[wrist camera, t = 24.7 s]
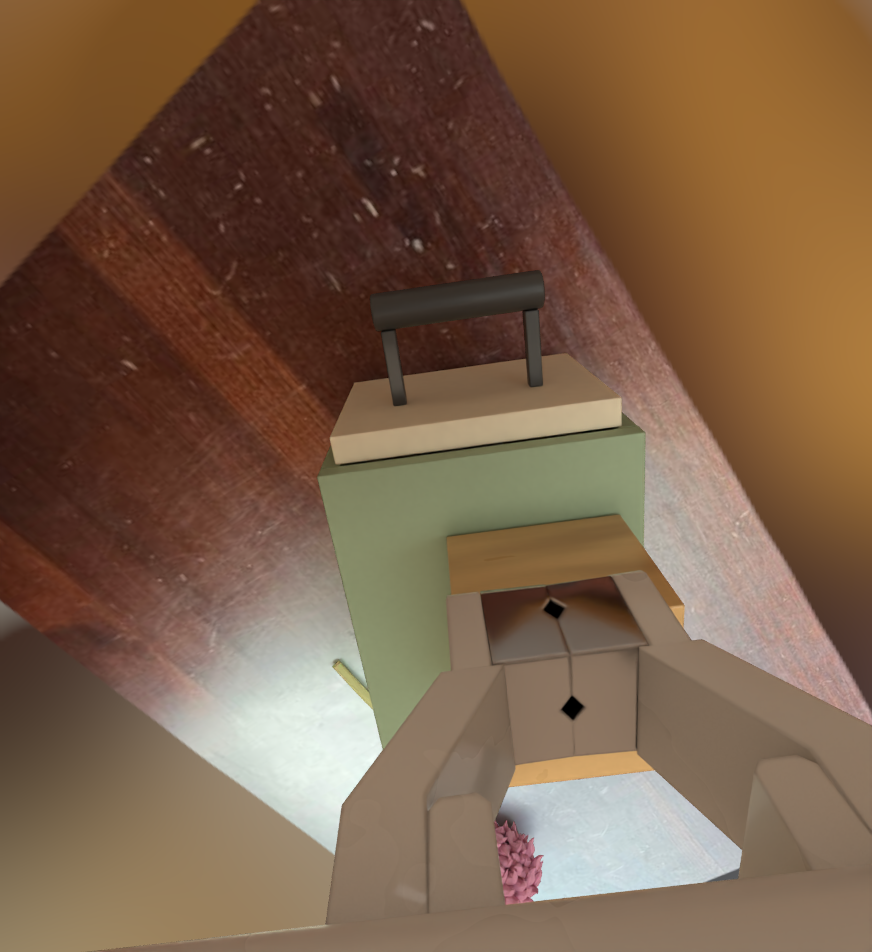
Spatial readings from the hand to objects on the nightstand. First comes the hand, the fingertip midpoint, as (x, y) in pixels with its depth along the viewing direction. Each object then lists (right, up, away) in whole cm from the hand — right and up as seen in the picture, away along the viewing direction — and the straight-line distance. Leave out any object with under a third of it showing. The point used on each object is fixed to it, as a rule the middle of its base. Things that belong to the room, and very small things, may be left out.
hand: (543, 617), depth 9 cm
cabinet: (+1, 0, +25) cm, 25 cm away
